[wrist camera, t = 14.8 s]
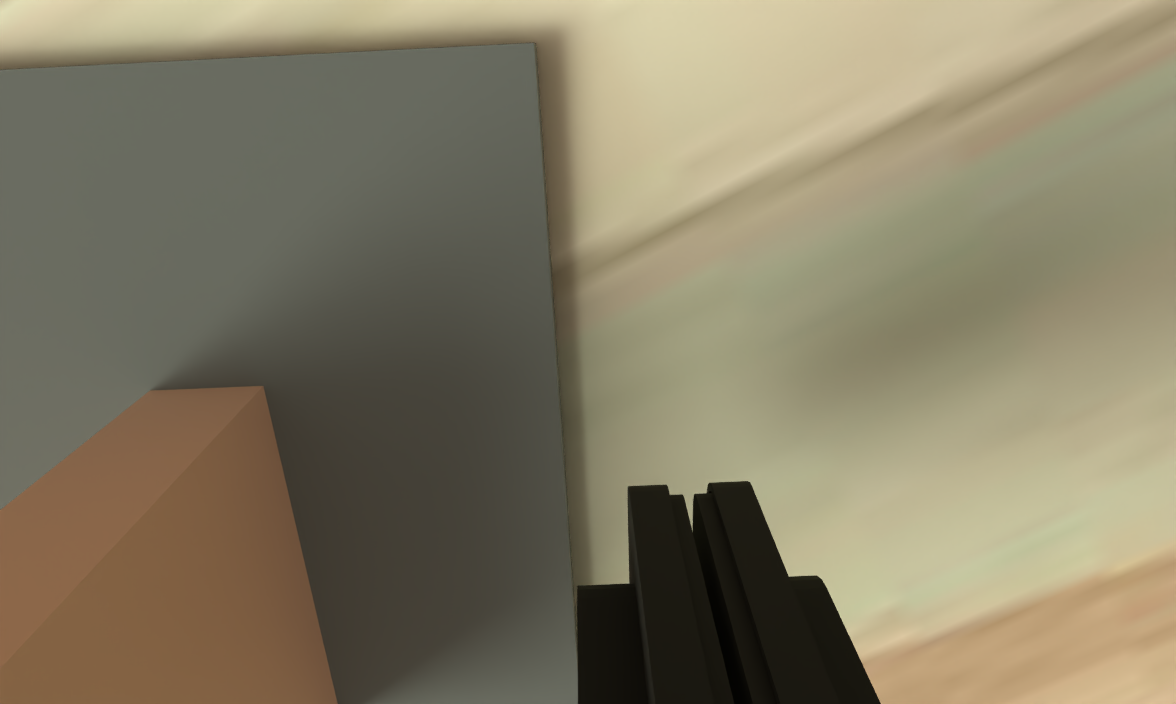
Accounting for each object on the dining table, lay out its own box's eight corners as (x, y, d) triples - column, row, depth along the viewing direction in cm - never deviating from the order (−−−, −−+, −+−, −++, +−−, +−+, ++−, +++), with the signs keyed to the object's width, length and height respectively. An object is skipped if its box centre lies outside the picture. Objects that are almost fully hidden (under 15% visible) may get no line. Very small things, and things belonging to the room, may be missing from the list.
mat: (536, 43, 11) (533, 42, 11) (581, 705, 17) (581, 728, 16) (-745, 107, 11) (-813, 111, 11) (-287, 747, 17) (-317, 771, 16)
